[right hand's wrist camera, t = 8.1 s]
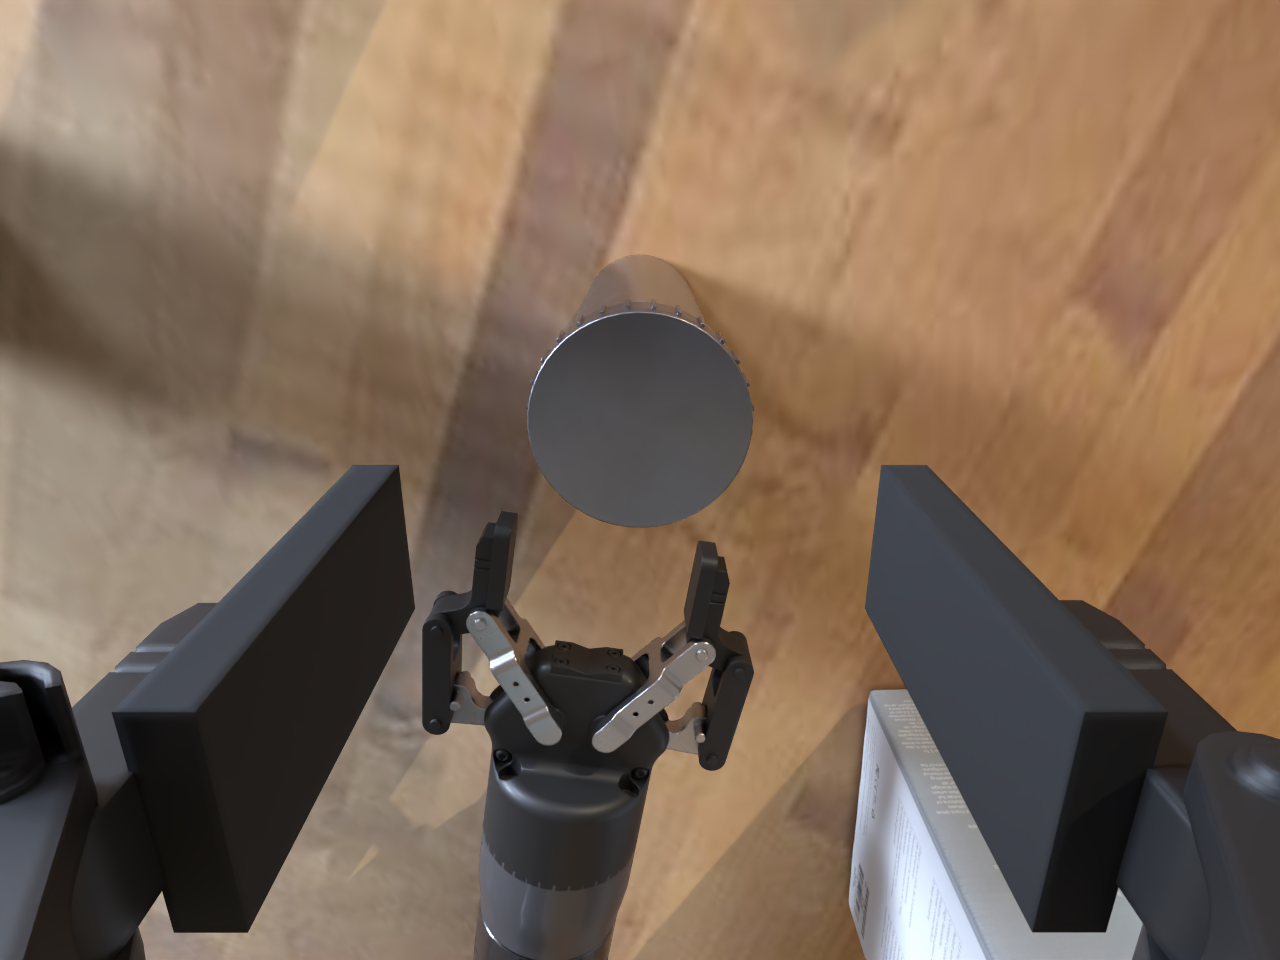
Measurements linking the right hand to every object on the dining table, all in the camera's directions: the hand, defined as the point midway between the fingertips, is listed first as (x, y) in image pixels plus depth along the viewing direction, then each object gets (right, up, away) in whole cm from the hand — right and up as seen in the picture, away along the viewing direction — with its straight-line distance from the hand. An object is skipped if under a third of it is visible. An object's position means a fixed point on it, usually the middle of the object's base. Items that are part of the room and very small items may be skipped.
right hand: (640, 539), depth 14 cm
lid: (0, +3, +7) cm, 7 cm away
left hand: (-1, -1, +20) cm, 20 cm away
